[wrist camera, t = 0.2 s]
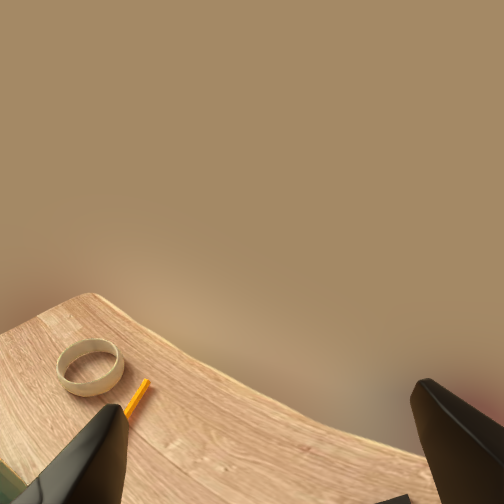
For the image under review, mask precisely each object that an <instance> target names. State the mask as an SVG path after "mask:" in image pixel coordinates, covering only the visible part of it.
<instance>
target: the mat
mask: <svg viewBox="0 0 504 504" xmlns="http://www.w3.org/2000/svg"><path fill="white" fill-rule="evenodd" d="M376 504H411V502H410V499H409V497H408V494H405V495H402V496H399V497H396V498H393V499H390V500H386V501H383V502H379V503H376Z"/></svg>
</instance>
